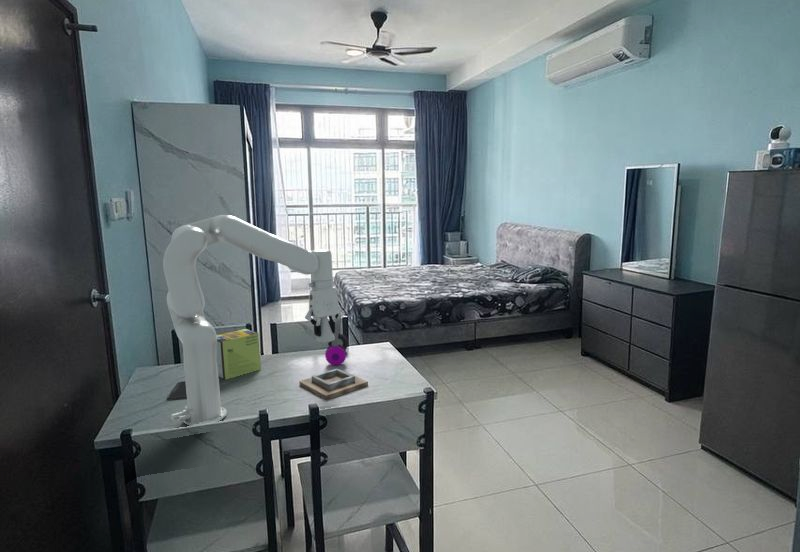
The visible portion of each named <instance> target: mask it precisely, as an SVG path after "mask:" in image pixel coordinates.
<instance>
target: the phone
mask: <svg viewBox="0 0 800 552" xmlns="http://www.w3.org/2000/svg"><path fill="white" fill-rule="evenodd" d="M179 398H187V394H186V383H185V380H184V381H179V382H177V383H176V384H175V385H174V387H173V388H172V389H171V391H170V392H169V393H168V395H167V396H166V400H167V399H176V400H177V399H179Z"/></svg>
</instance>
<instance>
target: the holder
mask: <svg viewBox="0 0 800 552" xmlns="http://www.w3.org/2000/svg"><path fill="white" fill-rule="evenodd" d="M298 384H299V386H300V387H302V388H304V389H305V390H307V391H309V392H312V393H313V394H315V395H317V396H318V397H320V398H322V399H324V400H325V401H328V400H330V399H333V398H335V397H338V396H341V395H344V394H347V393H351V392H353V391H356V390H359V389H362V388H365V387H367V386H369V382H368V380H365V379H363V378H361V377H359V376H356V375H354V374H352V373H350V372H347V371H345V370H343V369H341V368H334V369H330V370H327V371H324V372H320V373H317V374H313V375H312V376H311V377H309V378H306V379H302V380H299V383H298Z"/></svg>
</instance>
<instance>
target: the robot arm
mask: <svg viewBox="0 0 800 552" xmlns="http://www.w3.org/2000/svg"><path fill="white" fill-rule="evenodd" d="M170 239H171V241H170V243H169V244H168V245H167V247H166V250H165V252H164V255H163V259H162V265H163V266H162V268H163V272H164V273H163V274H164V278H165V281H166V285H167V289H168V290H167V291H168V292H167V294H166V304H167V305H166V306H167V307H168V308H167V309H168V312H169V315H170V318H171V320H172V325H173V328H174V331H175V334H176V336H177V338H178V339H179V341H180V342H181V344H182V351H183V358H182V359H183V370H184V381H185V383H186V394H187V399H186V401H187V403H186V404H187V405H184V409H182V410H181V411H180V412H174V413H172V414H171V415H170V418H171V421H176V420H178V421H179V422H182V421H183V424H184V423H185V424H187V425H193V424H199V422H203V421H207V420H209V421H210V420H213V419H220V418H223V417H225V416H226V417H227V415H228V412H227V409H226V408H225V407H223V406H222V404H221V401H222V400H221V392H220V391H221V389H220V379H219V378H220V377H219V376H218V365H217V335H218V334H217V331H216V330H215V327H214V326H213V325H212V324H211V323H210V322H209V321H208V320H207V319H206V317H205V316H206V315H205V314H204V309H205V306H206V301H205V297H204V296H205V295H204V293H203V290H202V287H201V283H200V280H199V278H198V272H197V268H196V265H197V264H196V263H197V259H198V257H199V255H200V254H201V253H202V252H204V251H205V250H206V248H207V247H210V246H214V245H216V244H219V243H222V242H223V243H225V244H228V245H231V246H232V247H235V248H236V249H240V250H242V251H244V252H246V253H249V254H251V255H254V256H256V257H258V258H261V259H263V260H266V261H271V262H274V263H278V264H281V266H282V265H283V266H285V267H287V268H288V269H289V270H291V271H292V272H295V273H299V274H302V275H306V276H308V275H310V282H309V283H308V287H309V288H310V290H309V294H308V295H309V296H308V311H307V312H306V314H305V316H304V318H305V320H307V321H308V322H310V323H311V324H312V325H313V333H314V336H315V337H316V336H319V337H320V336H321V326H320V318H323V317H327V316H328V322H329V325H330V327H331V330H332V333H335V322H336V319H337V317H338V316H339V314H340V313H341V314H342V310H343V309H341V307H340V305H339V298H338V297H339V296H338V292H337V289H336V287H335V286H334V278H333V277H334V276H333V260H332V258H333V256H332V255H333V254H332V251H331V250H329V249H327V248H319V249H318V248H317V249H312V250H307V249H305V248H303V247H301V246H300V245H296V244H295V243H293V242H290V241H288V240H285V239H284V238H281V237H279V236H277V235H275V234H273V233H270V232H268V231H266V230H264V229H262V228H260V227H258V226H255V225H253V224H251V223H249V222H247V221H245V220H242V219H241V218H238V217H236V216H233V215H230V214H219V215H215V216H212V217H209V218H206V219H202V220H198V221H194V222H191V223H187V224H184V225H181V226H179V227H177V228H175V230H174V231H173V232H172V235H171V238H170ZM226 417H225V418H226ZM185 424H184V425H185ZM187 425H186V426H187Z"/></svg>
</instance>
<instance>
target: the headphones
mask: <svg viewBox="0 0 800 552" xmlns="http://www.w3.org/2000/svg"><path fill="white" fill-rule="evenodd" d="M341 322H342V312H341V313H340V314H339V316H338V317H337V319H336V322H335V333H333V334H334V337H335V340H333V341H331V342H327V344H328V347H327V348H326V350H325V354H324V355H325V360H326V361H327V362H328V363H329V364H330V365H332V366H340V365H341V364H343V363H344V362H345V361H346V358H347V354H348V353H347V348H348V346H349V341H348V337H346V336H345V335H344V334H343V333H341Z"/></svg>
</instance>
